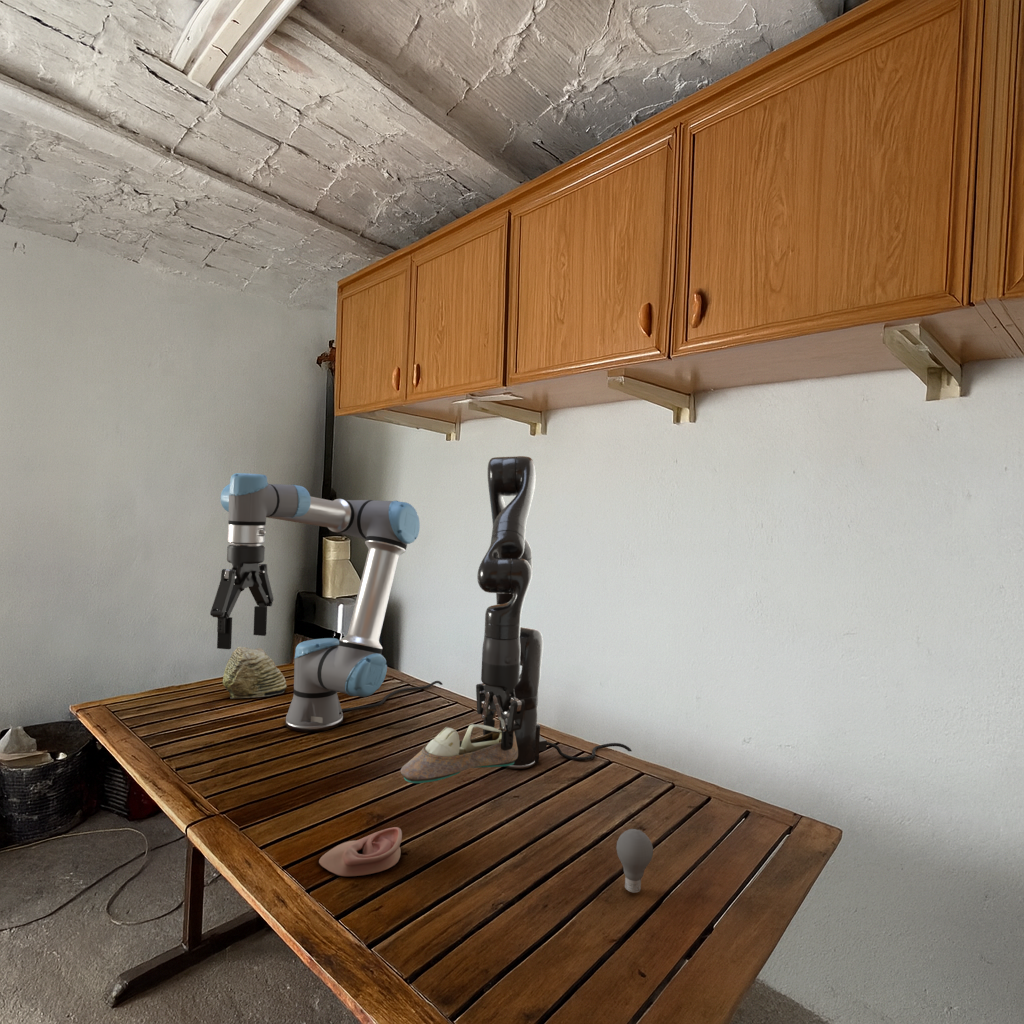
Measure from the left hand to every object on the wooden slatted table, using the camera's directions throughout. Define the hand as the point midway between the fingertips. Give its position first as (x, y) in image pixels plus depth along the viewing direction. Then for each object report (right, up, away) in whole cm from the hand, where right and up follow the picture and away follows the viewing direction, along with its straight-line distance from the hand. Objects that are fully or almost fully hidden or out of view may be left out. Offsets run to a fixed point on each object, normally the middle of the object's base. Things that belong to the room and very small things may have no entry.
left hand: (242, 641), depth 138 cm
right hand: (+56, -17, -13) cm, 60 cm away
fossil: (-22, -29, +60) cm, 70 cm away
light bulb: (+79, -35, -32) cm, 92 cm away
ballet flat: (+49, -21, -17) cm, 56 cm away
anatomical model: (+32, -33, -27) cm, 53 cm away
